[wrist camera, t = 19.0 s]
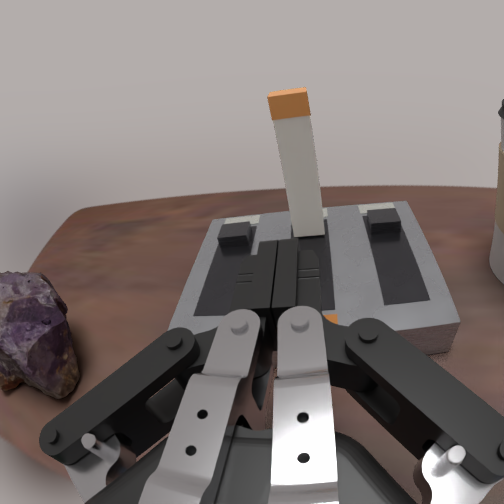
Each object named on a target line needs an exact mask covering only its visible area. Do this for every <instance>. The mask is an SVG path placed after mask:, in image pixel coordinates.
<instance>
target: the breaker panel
mask: <svg viewBox="0 0 504 504" xmlns="http://www.w3.org/2000/svg"><path fill="white" fill-rule="evenodd" d="M322 210H323V220H324V230H325V235H314V236H303V237H294V234H293V228H292V221H291V215H290V211H285V212H276V213H267V214H257V215H249V216H240V217H231V218H223V219H215V220H212V223H211V225H210V227H209V230H208V232H207V234H206V237H205V239H204V241H203V244H202V246H201V248H200V251H199V253H198V256H197V258H196V260H195V263H194V265H193V268H192V270H191V273H190V275H189V278H188V280H187V282H186V285H185V287H184V290H183V292H182V295H181V297H180V300H179V302H178V305H177V308H176V310H175V313H174V315H173V318H172V320H171V323H170V326H169V328H168V330H170V329H173V328H178V327H183V328H187V329H189V330H190V331H191V332H192V333H193V335H195V334H198V333H202V332H205V331H209V330H212V329H214V328H216V327H217V326H219V323H220V321H221V320H222V318H223V317H224V316H226V315H227V314H228V313H229V310H230V306H231V302H232V298H233V293H234V289H235V285H236V281H237V277H238V272H239V268H240V264H241V263H242V262H243V261H244V259H245V258H246V257H247V256H248V255H257V251H258V246H259V242H260V241H270V240H281V239H291V238H298V239H299V245H300V251H303V250H313V251H314V252H315V254H316V255H317V257H318V259H319V269H320V279H321V293H322V314H323V315H324V317H325V318H326V319H328V320H329V321H331V322H332V323H335V324H338V325H343V326H348V327H349V325H350V324H352V323H353V322H354V321H356V320H358V319H362V318H375V319H378V320H381V321H382V322H384V323H385V324H387V325H388V326H389V327H390V328H392V329H393V330H394V331H396V332H397V333H398V334H400V335H401V336H402V337H404V338H405V339H406V340H407V341H409V342H410V343H411V344H413V345H414V346H415V347H416V348H418V349H419V350H420V351H422V352H423V353H424V354H425V355H431V354H437V353H443V352H449V350H450V347H451V345H452V342H453V340H454V338H455V335H456V333H457V330H458V327H459V325H460V322H461V321H460V319H459V316H458V313H457V310H456V308H455V305H454V303H453V300H452V297H451V295H450V292H449V290H448V288H447V285H446V283H445V280H444V278H443V276H442V273H441V271H440V269H439V266H438V264H437V262H436V260H435V257H434V255H433V253H432V251H431V249H430V247H429V245H428V242H427V240H426V238H425V236H424V234H423V232H422V230H421V228H420V226H419V224H418V222H417V220H416V218H415V216H414V214H413V212H412V211H411V209H410V207H409V205H408V203H407V201H399V202H385V203H373V204H360V205H348V206H337V207H326V208H322ZM272 362H273V365H274V367H277V364H278V351H273V354H272Z"/></svg>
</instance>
